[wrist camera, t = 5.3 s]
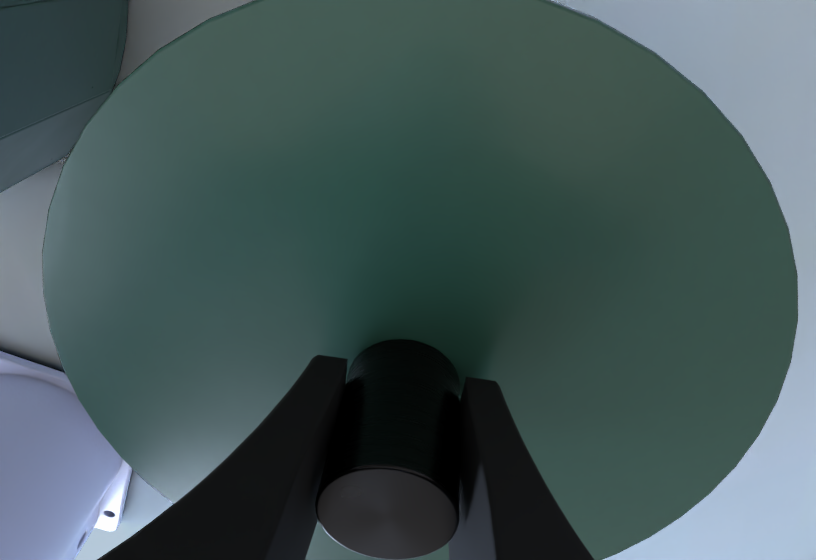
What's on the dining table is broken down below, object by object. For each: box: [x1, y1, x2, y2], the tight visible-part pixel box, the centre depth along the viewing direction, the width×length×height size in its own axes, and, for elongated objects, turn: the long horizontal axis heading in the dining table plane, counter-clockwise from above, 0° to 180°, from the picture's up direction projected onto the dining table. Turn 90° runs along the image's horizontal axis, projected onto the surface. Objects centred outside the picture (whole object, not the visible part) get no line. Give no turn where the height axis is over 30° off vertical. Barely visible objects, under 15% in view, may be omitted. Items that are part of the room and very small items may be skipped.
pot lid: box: [42, 0, 798, 560], centre depth 11 cm, size 15×15×4 cm
